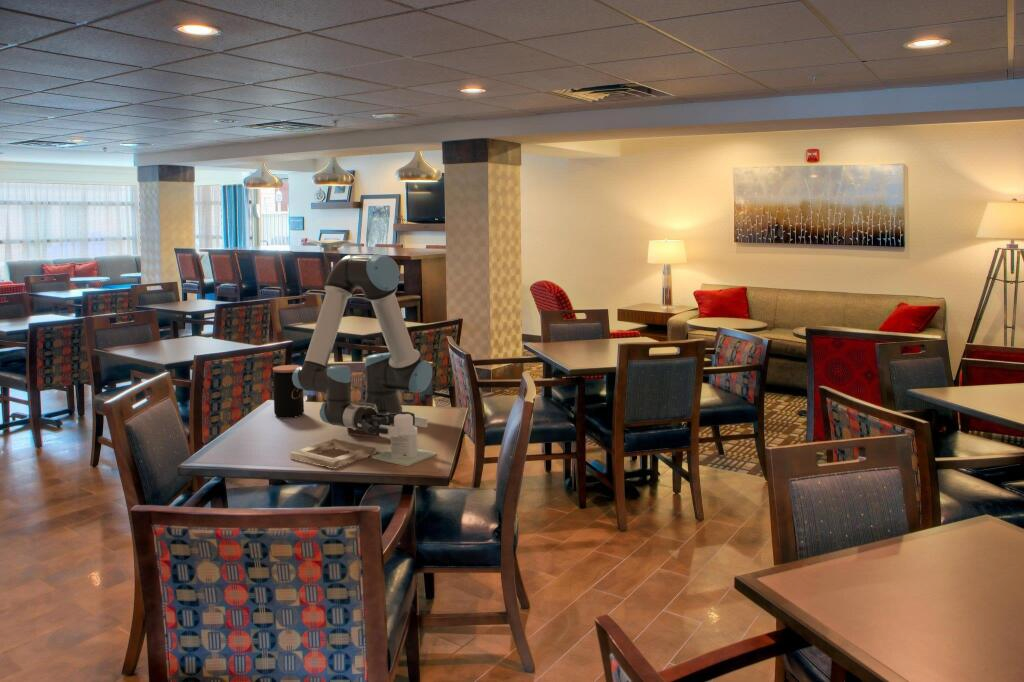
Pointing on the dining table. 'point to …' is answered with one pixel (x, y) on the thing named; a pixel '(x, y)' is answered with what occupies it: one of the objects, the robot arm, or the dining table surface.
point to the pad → (404, 461)
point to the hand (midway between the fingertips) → (412, 427)
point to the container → (404, 436)
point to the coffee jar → (286, 392)
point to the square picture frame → (355, 454)
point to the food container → (361, 432)
